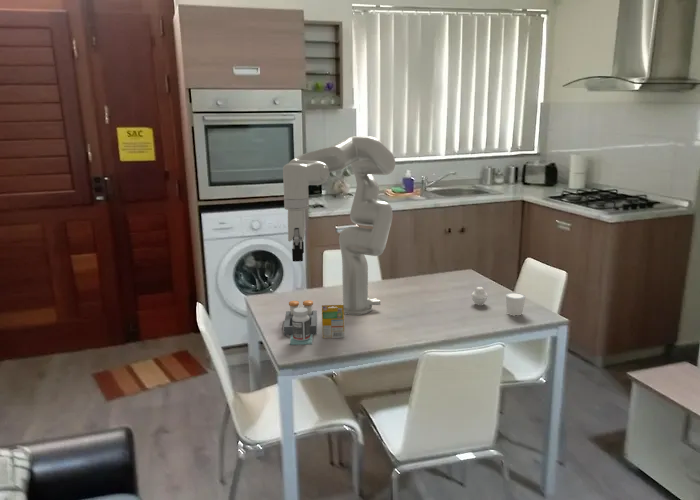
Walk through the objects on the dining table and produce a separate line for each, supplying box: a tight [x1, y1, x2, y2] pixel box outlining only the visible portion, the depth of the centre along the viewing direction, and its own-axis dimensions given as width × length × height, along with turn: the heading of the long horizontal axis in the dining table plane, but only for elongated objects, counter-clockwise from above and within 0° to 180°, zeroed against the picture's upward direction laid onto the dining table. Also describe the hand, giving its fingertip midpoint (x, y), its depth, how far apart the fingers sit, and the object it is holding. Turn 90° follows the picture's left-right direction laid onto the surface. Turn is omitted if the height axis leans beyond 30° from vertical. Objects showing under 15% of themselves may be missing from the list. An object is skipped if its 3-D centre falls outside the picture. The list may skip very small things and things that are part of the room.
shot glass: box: [505, 292, 526, 315], centre depth 205 cm, size 7×7×7 cm
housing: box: [283, 310, 318, 336], centre depth 195 cm, size 11×15×3 cm
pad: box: [289, 334, 313, 346], centre depth 184 cm, size 7×7×1 cm
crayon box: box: [321, 304, 345, 339], centre depth 185 cm, size 7×3×12 cm, turn 92°
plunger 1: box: [288, 300, 300, 315], centre depth 200 cm, size 4×4×7 cm
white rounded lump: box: [471, 286, 489, 306], centre depth 215 cm, size 6×6×7 cm
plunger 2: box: [302, 299, 314, 315], centre depth 200 cm, size 4×4×7 cm
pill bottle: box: [292, 306, 310, 341], centre depth 183 cm, size 6×6×10 cm
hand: (298, 257), depth 177 cm, fingers open, 9 cm apart
